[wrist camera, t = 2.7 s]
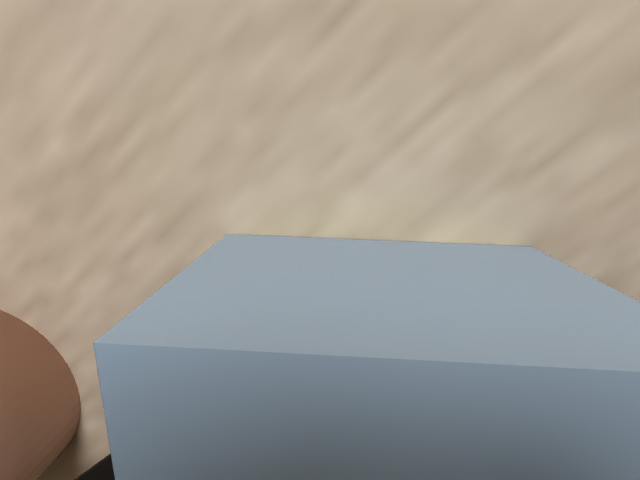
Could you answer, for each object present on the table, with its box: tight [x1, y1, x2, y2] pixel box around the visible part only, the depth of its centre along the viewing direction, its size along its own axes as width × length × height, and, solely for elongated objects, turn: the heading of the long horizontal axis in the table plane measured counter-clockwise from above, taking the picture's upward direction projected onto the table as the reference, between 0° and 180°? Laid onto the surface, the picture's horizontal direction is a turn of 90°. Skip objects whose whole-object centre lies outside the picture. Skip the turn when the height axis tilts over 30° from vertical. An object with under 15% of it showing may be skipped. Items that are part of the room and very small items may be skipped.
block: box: [93, 234, 640, 480], centre depth 6 cm, size 6×7×4 cm
